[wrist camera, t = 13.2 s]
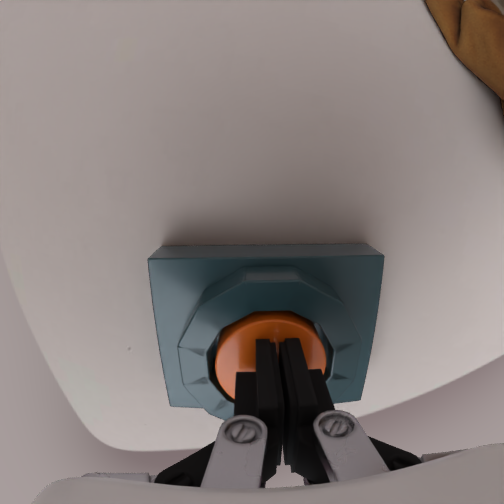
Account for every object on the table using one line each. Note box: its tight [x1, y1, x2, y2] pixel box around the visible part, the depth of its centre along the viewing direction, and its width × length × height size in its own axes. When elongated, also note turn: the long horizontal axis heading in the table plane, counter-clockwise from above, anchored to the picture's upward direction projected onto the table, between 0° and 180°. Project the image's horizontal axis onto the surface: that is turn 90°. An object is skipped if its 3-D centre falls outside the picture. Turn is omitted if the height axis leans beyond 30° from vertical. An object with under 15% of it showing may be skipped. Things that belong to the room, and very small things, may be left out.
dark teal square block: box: [148, 244, 384, 421], centre depth 14 cm, size 10×8×4 cm
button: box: [215, 311, 326, 399], centre depth 13 cm, size 4×4×2 cm
